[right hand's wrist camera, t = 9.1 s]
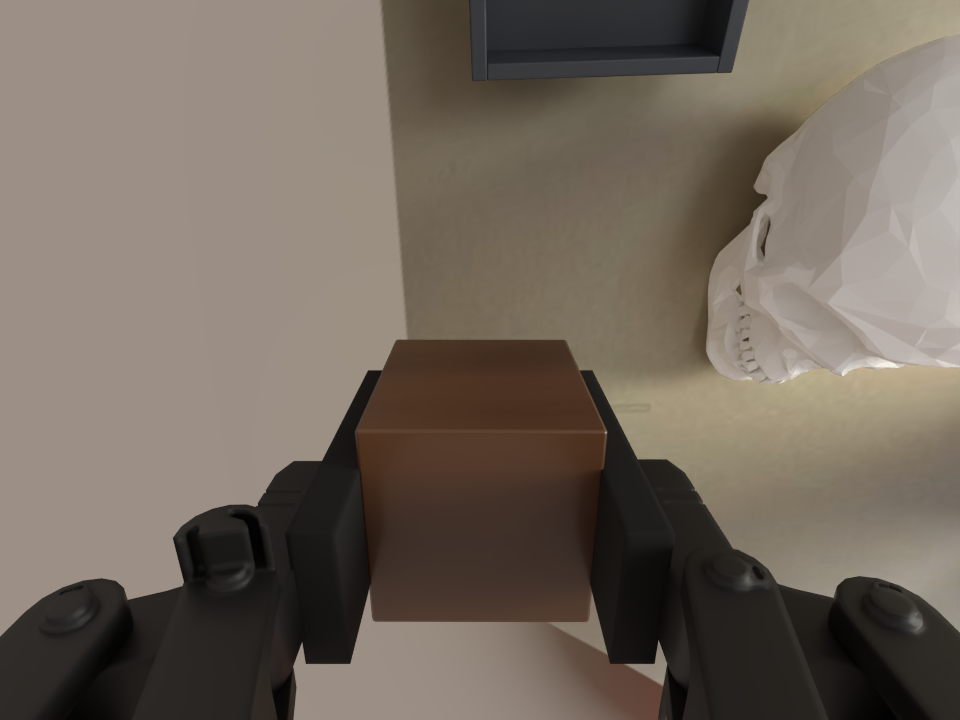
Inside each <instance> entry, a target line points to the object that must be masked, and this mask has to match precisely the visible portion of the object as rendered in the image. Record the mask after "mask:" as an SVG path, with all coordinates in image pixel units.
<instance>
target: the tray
mask: <svg viewBox="0 0 960 720" xmlns="http://www.w3.org/2000/svg"><path fill="white" fill-rule="evenodd" d="M748 3H749V0H469V4H470V33H471V62H472V80H473V81H485V80H487V79H488V80H516V79H547V78H577V77H608V76H639V75H669V74H700V73H731V72H732V69H733V65H734V61H735V57H736V53H737V48H738V44H739V40H740V36H741V32H742V28H743V23H744V19H745V15H746V11H747V7H748Z"/></svg>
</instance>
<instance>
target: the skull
mask: <svg viewBox="0 0 960 720" xmlns="http://www.w3.org/2000/svg"><path fill="white" fill-rule="evenodd" d="M754 189H755V190H756V191H757V192H758V193H759V194H766V195H767V197H768V198H767V199H766V200H765V201H764V202H763V203H762V204H761V205H760V206H759V207H758V208H757V209H756V210H755V211H754V212H753V218H752V220H751V223H750V225H748V226H747V227H746V228H745V229H744V230H743V231H742V232H741V233H740V234H739V235H738V236H737V237H735V238H734V239H733V240H732V241H731V242H730V243H729V244H728V245H727V246H726V247H725V248H724V249H723V250H721V251H720V252H719V254H718V255H717V257H716V259H715V262H714V264H713V267H712V270H711V273H710V277H709V286H708V330H707V341H706V352H707V355H708V357H709V359H710V361H711V363H712V364H713V366H714V367H715V369H716V370H717V372H718V373H719V374H721V375H723V376H725V377H728V378H730V379H733V380H751V379H754V380H756V381H760V380H763V379H764V380H763V381H761V382H759V383H766V384H772V383H777V384H781V383H783V382H784V381H785V380H790V379H793V378H795V377H797V376H799V375H801V374H803V373H805V372H807V371H809V370H813V369H819V368H826V369H828V370H829V371H830V372H832V373H834V374H837V375H840V376H842V377H843V376H844V375H845V374H846V373H847V372H849V371H850V370H852V369H856V368H870V369H886V368H900V367H902V366H904V365H907V364H908V365H920V366H934V367H948V368H960V34H958V35H953V36H948V37H943V38H940V39H937V40H934V41H931V42H928V43H925V44H923V45H920V46H917V47H914V48H911V49H909V50H907V51H905V52H902V53H900V54H898V55H896V56H894V57H891V58H889V59H887V60H885V61H883V62H881V63H879V64H878V65H876V66H874V67H873V68H871V69H870V70H868V71H866V72H865V73H863V74H861V75H860V76H859V77H857V78H856V79H855V80H853V81H852V82H851V83H850V84H848V85H847V86H846V87H844V88H843V89H842V90H841V91H839V92H838V93H837V94H835V95H834V96H833V97H832V98H830V99H829V100H828V101H826V102H825V103H824V104H823V105H822V106H821V107H820V108H819V109H818V110H816V111H815V112H814V113H813V114H812V115H811V116H810V117H809V118H808V119H807V120H806V121H805V122H804V123H803V124H802V125H801V127H800V128H799V129H798V130H797V131H796V132H795V133H794V134H792V135H791V136H790V137H789V138H787V139H786V140H785V141H784V142H782V143H781V144H780V145H779V146H778V147H777V148H776V149H775V150H774V151H772V152H771V153H770V154H769V155H768V156H767V158H766V159H765V161H764V163H763V166H762V168H761V171H760V173H759V175H758V178H757V180H756V182H755V184H754ZM769 220H770V224H771V225H770V229H769V233H768V235H767V238H766V244H765V257H764V255H763V253H762V250H761V246H762V243H763V241H764V239H765V237H766V233H767V228H768V222H769ZM739 284H740V286H741V293H742V294H741V295H740V294H739V293H738V292H737V291H736V289H737V287H738V286H739ZM743 304H744V305H743ZM748 315H750V316H748ZM742 316H745V317H744V318H743V319H742ZM748 337H749V341H743V340H744V339H745V338H748ZM750 347H752V351H745V350H746V349H749V348H750ZM744 351H745V352H744Z"/></svg>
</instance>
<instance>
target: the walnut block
mask: <svg viewBox="0 0 960 720" xmlns="http://www.w3.org/2000/svg"><path fill="white" fill-rule="evenodd" d="M355 438H356V448H357V459H358V468H359V472H360V483H361V494H362V504H363V515H364V526H365V536H366V547H367V558H368V568H369V579H370V587H369V588H370V599H371V610H372V618H373V620H374V621H376V622H587V621H588V620H589V615H590V604H591V594H592V590H591V586H590V585H591V575H592V564H593V554H594V543H595V532H596V522H597V511H598V501H599V490H600V480H601V470H602V469H604V462H605V451H606V441H607V430H606V428H605V426H604V424H603V421H602V419H601V417H600V415H599V413H598V410H597V408H596V406H595V404H594V402H593V399H592V397H591V395H590V393H589V391H588V388H587V386H586V384H585V382H584V380H583V377H582V375H581V373H580V371H579V368H578V366H577V364H576V362H575V360H574V357H573V355H572V353H571V351H570V349H569V346H568V344H567V342H566V341H565V340H396V342H395V344H394V346H393V348H392V351H391V353H390V355H389V357H388V359H387V362H386V364H385V366H384V368H383V371H382V373H381V375H380V377H379V379H378V382H377V384H376V386H375V388H374V390H373V393H372V395H371V397H370V399H369V402H368V404H367V406H366V408H365V410H364V413H363V415H362V417H361V419H360V422H359V424H358V426H357V428H356V431H355Z"/></svg>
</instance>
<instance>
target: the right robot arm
mask: <svg viewBox="0 0 960 720" xmlns="http://www.w3.org/2000/svg"><path fill="white" fill-rule="evenodd" d="M382 371H383V370H379V371H378V370H372V371H371V370H369V371H368V372H367V374H366V376H365V378H364V380H363V382H362V384H361V386H360V388H359V389H358V391H357V393H356V395H355V397H354V399H353V401H352V403H351V405H350V407H349V409H348V411H347V413H346V415H345V417H344V419H343V421H342V423H341V425H340V427H339V429H338V431H337V433H336V435H335V437H334V439H333V441H332V443H331V445H330V446H329V448H328V450H327V452H326V454H325V456H324V458H323V460H322V461H294V462H292V463H291V464H289V465H288V466H287V467H285V468H284V469H283V470H281V471H280V472H279V473H277V474H276V475H275V477H274V478H273V480H272V482H271V483H270V485H269V486H268V488H267V490H266V493H264V494H263V496H262V497H261V499H260V501H259V502H258V506H256V507H253V506H250V505H227V506H223V507H219V508H214V509H211V510H209V511H207V512H204V513H202V514H200V515H198V516H195V517H194V518H193V519H191V520H190V521H188V522H187V523H186V524H184V525H183V526H182V527H181V528H180V529H179V530H178V532H177V533H176V535H175V536H174V537H173V540H174V544H175V548H176V552H177V556H178V560H179V564H180V568H181V572H182V576H183V579H184V584H183V586H182V587H178V588H175V589H172V590H168V591H165V592H160V593H156V594H152V595H148V596H143V597H139V598H134V599H130V600H127V597H126V594H125V590H124V588H123V587H122V586H121V585H120V584H119V583H118V582H116V581H113V580H108V579H102V578H101V579H93V580H85V581H81V582H78V583H75V584H72V585H69V586H66V587H63V588H61V589H59V590H57V591H55V592H53V593H52V594H50V595H48V596H46V597H44V598H42V599H41V600H40V601H38V602H37V603H36V604H35V605H33V606H32V607H31V608H30V609H28V610H27V611H26V612H25V613H24V614H23V615H22V616H21V617H20V618H19V619H18V620H17V621H16V622H15V623H14V624H13V625H12V626H11V627H10V628H9V629H8V630H7V631H6V632H5V633H4V634H3V635H2V636H1V637H0V720H293V717H294V707H295V696H296V681H295V674H294V669H293V665H294V662H295V660H296V657H297V654H298V651H299V649H300V646H301V643H303V649H304V655H305V661H306V664H350V662H351V659H352V654H353V651H354V646H355V642H356V639H357V635H358V631H359V627H360V623H361V619H362V615H363V611H364V607H365V603H366V599H367V595H368V591H369V587H370V579H369V568H368V558H367V547H366V536H365V526H364V515H363V504H362V494H361V483H360V472H359V468H358V459H357V448H356V438H355V431H356V428H357V426H358V424H359V422H360V419H361V417H362V415H363V413H364V410H365V408H366V406H367V404H368V402H369V399H370V397H371V395H372V393H373V390H374V388H375V386H376V384H377V382H378V379H379V377H380V375H381V373H382ZM579 371H580V373H581V375H582V377H583V380H584V382H585V384H586V386H587V388H588V391H589V393H590V395H591V397H592V399H593V402H594V404H595V406H596V408H597V410H598V413H599V415H600V417H601V419H602V421H603V424H604V426H605V428H606V430H607V441H606V451H605V462H604V469H602V470H601V480H600V490H599V501H598V511H597V522H596V532H595V543H594V554H593V564H592V575H591V585H590V586H591V590H592V594H593V598H594V602H595V605H596V609H597V613H598V617H599V621H600V625H601V629H602V633H603V637H604V641H605V645H606V649H607V653H608V657H609V661H610V664H655V658H656V651H657V645H658V639H659V642H660V645H661V648H662V650H663V653H664V656H665V659H666V661H667V669H666V674H665V680H664V686H663V692H662V697H661V703H660V709H659V716H658V719H659V720H665V718H666V716H667V720H960V633H959V632H958V631H957V630H956V629H955V628H954V627H953V626H952V625H951V624H950V623H949V622H948V621H947V620H946V619H945V618H944V617H943V616H942V615H941V614H940V613H939V612H938V611H937V610H936V609H935V608H933V607H932V606H931V605H930V604H928V603H927V602H926V601H925V600H923V599H922V598H921V597H920V596H918V595H916V594H914V593H912V592H910V591H908V590H907V589H905V588H903V587H901V586H899V585H896V584H893V583H890V582H887V581H884V580H881V579H878V578H870V577H861V576H858V577H853V578H847V579H845V580H843V581H842V582H841V583H840V584H839V585H838V586H837V589H836V592H835V595H834V598H831V597H827V596H823V595H818V594H814V593H810V592H805V591H801V590H797V589H793V588H790V587H786V586H783V585H780V584H777V583H776V581H775V579H774V578H773V576H772V574H771V573H770V571H769V570H768V569H767V568H766V567H765V566H764V565H762V564H761V563H760V562H759V561H758V560H756V559H755V558H753V557H751V556H749V555H747V554H745V553H743V552H741V551H739V550H736V549H733V548H732V546H731V545H730V543H729V542H728V540H727V539H726V537H725V535H724V534H723V532H722V531H721V529H720V528H719V526H718V524H717V523H716V521H715V520H714V518H713V517H712V515H711V513H710V512H709V510H708V509H707V507H706V505H703V501H702V499H701V498H700V496H699V494H698V493H697V491H695V488H694V487H693V485H692V483H691V482H690V480H689V479H688V477H687V476H686V474H685V473H684V472H683V471H682V470H680V469H679V468H678V467H676V466H675V465H674V464H672V463H671V462H669V461H668V460H638V459H637V457H636V455H635V453H634V452H633V450H632V448H631V446H630V444H629V442H628V440H627V438H626V436H625V434H624V432H623V430H622V428H621V426H620V424H619V422H618V420H617V418H616V416H615V414H614V412H613V410H612V408H611V406H610V404H609V402H608V400H607V398H606V396H605V395H604V393H603V391H602V389H601V387H600V385H599V383H598V381H597V379H596V377H595V375H594V373H593V371H592V370H579Z"/></svg>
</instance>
